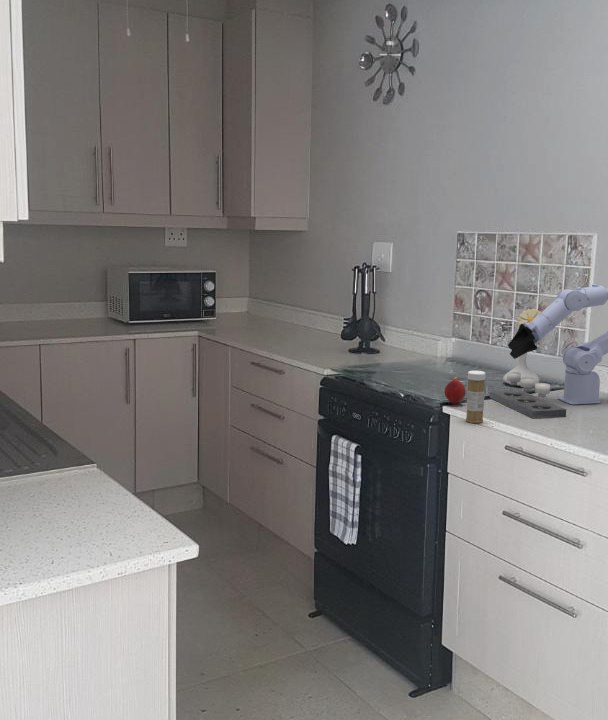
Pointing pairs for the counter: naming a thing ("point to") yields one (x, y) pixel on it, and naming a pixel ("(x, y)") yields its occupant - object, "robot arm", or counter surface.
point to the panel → (528, 404)
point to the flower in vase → (522, 365)
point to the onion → (455, 391)
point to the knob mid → (527, 383)
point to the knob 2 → (542, 389)
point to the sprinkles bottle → (475, 396)
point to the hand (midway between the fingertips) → (511, 352)
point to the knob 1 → (513, 377)
